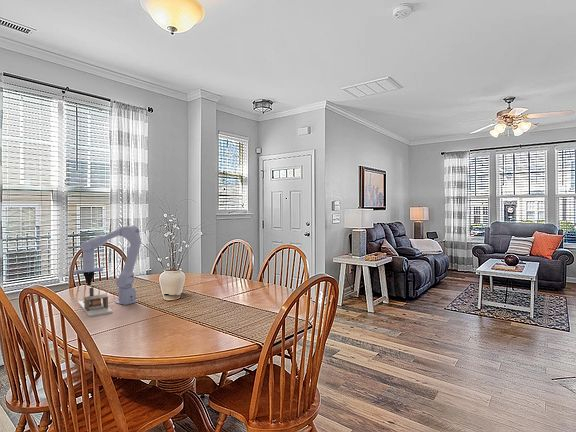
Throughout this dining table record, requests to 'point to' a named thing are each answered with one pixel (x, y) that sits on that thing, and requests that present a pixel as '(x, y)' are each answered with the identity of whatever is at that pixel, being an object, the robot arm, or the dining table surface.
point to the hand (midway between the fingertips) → (88, 285)
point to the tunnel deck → (95, 312)
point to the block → (95, 302)
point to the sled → (90, 300)
